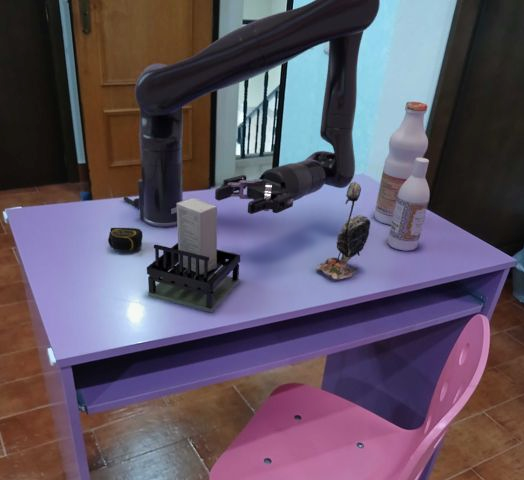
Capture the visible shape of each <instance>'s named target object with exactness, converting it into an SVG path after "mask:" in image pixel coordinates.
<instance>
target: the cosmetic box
mask: <svg viewBox="0 0 524 480" xmlns="http://www.w3.org/2000/svg"><path fill="white" fill-rule="evenodd" d="M217 208H218V207H217V205H214V204H211V203H209V202H206V201H204V200H201V199H199V198H195V197H191V198H188V199H187V198H186V199H183V201H181V202H178V203H177V225H176V226H177V243H178V249H179V250H181V251H185V252H190V253H194V254H198V255H202V256H206V257H209V261H208V272H209V271H211V270H213V269H215V268H216V267H217V250H218V245H217V244H218V242H217V241H218V240H217V239H218V235H217V234H218V232H217V231H218V228H217V222H218V221H217V220H218V219H217V217H218V215H217V214H218V213H217V212H218V210H217ZM179 265H180V263H179ZM183 267H185V268H187V269H188V256H183ZM191 270H192V271H194V272H196V258H192V257H191ZM199 274H201V275H202V274H204V260H200V259H199Z"/></svg>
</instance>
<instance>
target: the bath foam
mask: <svg viewBox="0 0 524 480" xmlns="http://www.w3.org/2000/svg"><path fill="white" fill-rule="evenodd" d="M429 163H430V160H429V159H428V158H425V157H423V158H416V159H415V163H414V167H413V172H412V175H411V176H410V177H409V178H408V179H407V180H406V181H405V182H404V184H403V185H402V186H401V188H400V190H399V193H398V196H397V201H396V205H395V210H394V214H393V219H392V223H391V225H390V230H389V232H388V233H389V234H388V238H387V244H388V245H389V246H390V247H391V248H393V249H396V250H398V251H404V252H409V251H414V250H416V249H417V247H418V245H419V241H420V238H421V233H422V229H423V225H424V221H425V218H426V214H427V211H428V206H429V203H430V196H431V192H430V187H429V184H428V181H427V179H426V175H427V171H428V167H429Z"/></svg>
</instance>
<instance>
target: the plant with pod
mask: <svg viewBox="0 0 524 480" xmlns="http://www.w3.org/2000/svg"><path fill="white" fill-rule="evenodd" d="M361 192H362V186H361V185H360V183H358V182H356V181H353V182H350V184H349V185H348V188H347V190H346V195H345V196H346V200H345V205H347V204H348V203H349V202H352V203H351V207H350V211H349V215H348V219H347V220H346V221H345V223H344V224H343V225H342V227H341V228H340V231H339V233H338V234H337V236H336V237H337V239H336V249H337V250H338V251H339V252H338V253H339V254H338V256H337V257H329V258H327V259H326V261H324V262H322V263H319V265H318V266H317V267H316V268H315V270H316V271H322V272H321V273H323V274H324V275H325V276H327V277H328V278H329V279H330V280H335V281H336V280H337V281H338V280H342V279H346V278H352V277H353V276H354V274H355V273H356V272H357V269H358V268H357V267H352V266H349V265H348V262H349V261H350V259H351V258H353V257H355V256H356V255H357V256H360V252H362V250H363V249H364V247H365V245H366V243H367V240H368V237H369V235H370V228H371V227H370V226H371V220H370V219H369V217H368V216H364V215H361V214H359V215H356V216H353V217H352V215H353V210H354V206H355V203H356V202H357V201H358V200H359V198H360V197H361ZM371 219H373V217H371ZM341 255H342V256H341ZM340 256H341V258H340Z"/></svg>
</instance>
